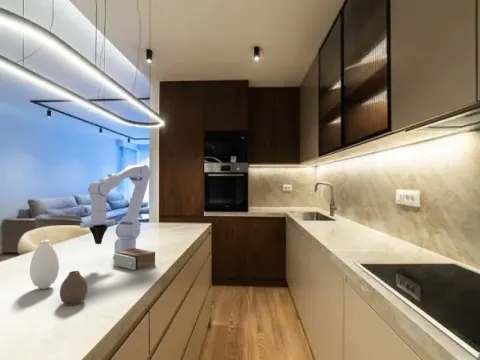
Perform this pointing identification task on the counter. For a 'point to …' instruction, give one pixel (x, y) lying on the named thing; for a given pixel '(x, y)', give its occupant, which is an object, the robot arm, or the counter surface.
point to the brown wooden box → (140, 257)
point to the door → (125, 261)
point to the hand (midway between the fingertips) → (98, 243)
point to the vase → (73, 289)
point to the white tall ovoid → (44, 265)
